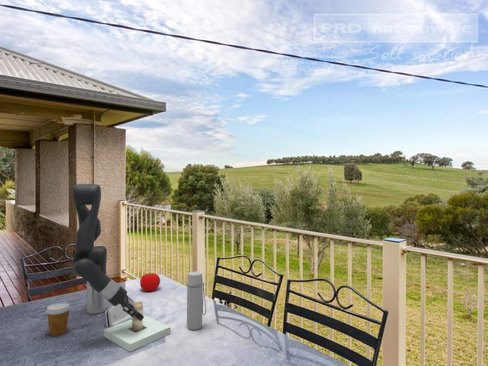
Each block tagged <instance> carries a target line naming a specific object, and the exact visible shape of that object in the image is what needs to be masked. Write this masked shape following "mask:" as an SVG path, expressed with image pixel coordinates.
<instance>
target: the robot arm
mask: <svg viewBox="0 0 488 366" xmlns="http://www.w3.org/2000/svg"><path fill="white" fill-rule="evenodd" d="M72 199H73V203H74V207H75V210H76V213H77V218H78V219H77V220H78V229H77V231H76V234H75V246H74V254H73V259H72V265H71V271H72V273H73V275H74V276H76V277H78V278H83V279H84V280H85V281H86V313H87V314H90V315H96V314H101V313H103V312H104V313H105V312H106V311H107V302H108V303H110V304H111V306H117V305H118V304H120V305H121V307H122V308H123V311H125V312H126V313H128V314H129V315H130V316H131V317H134V316H135V317H136V318H137V319H138V320H140V321H141V320H142V319H143V318H144V316H143V315H144V314H143V315H142V314H140V313H139V312H138V311H137V310H136V309H135V306H134V305H133V304H132V303H134V302H135V301H134V300H133V299H132V298H131V297H130V296H128V291H127V290H126V289H125V288H123V286H121V285H120V284H119V283H117V282H116V281H115V280H113V279H112V278H111V277H109V276H108V275H107V259H108V257H107V255H108V252H107V247H106V246H94V245H95V244H94V243H95V242H96V241H97V239H98V238H99V237H100V235H101V232H102V227H101V221H100V219H99V217H98V216H99V211H100V207H101V201H102V189H101V185H99V184H96V183H93V184H92V183H88V184H87V183H78V184H75V185H74V186H73V188H72ZM88 206H91V208H90V209H89V208H88ZM131 311H133V313H132V312H131Z"/></svg>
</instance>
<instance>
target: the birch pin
mask: <svg viewBox="0 0 488 366" xmlns="http://www.w3.org/2000/svg"><path fill="white" fill-rule="evenodd" d="M132 304H133V305H134V306H135V309H136V310H137V311H138V312H139V313H140V314H142V315H144V302H143V301H134V303H132ZM132 313H133V311H132ZM141 330H143V319H142V320H141V321H140V320H138V319H137V318H136V317H135V316H134V317H132V331H133V332H135V333H136V332H139V331H141Z"/></svg>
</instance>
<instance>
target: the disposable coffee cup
mask: <svg viewBox="0 0 488 366" xmlns="http://www.w3.org/2000/svg"><path fill="white" fill-rule="evenodd" d="M70 309H71V305H70V303H68V302H66V301H64V302H62V301H61V302H55V303H52V304H49V305H47V306H46V310H45V312H46V315H47V322H48V327H49V335H50V336H52V337H58V336H62V335H64V334H65V333H67V329H68V322H69V315H70Z"/></svg>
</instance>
